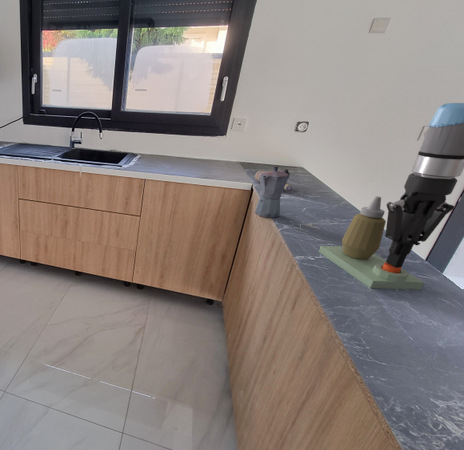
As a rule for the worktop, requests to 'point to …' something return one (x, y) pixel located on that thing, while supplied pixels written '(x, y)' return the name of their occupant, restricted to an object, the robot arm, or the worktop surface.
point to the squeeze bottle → (365, 232)
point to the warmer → (371, 270)
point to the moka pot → (271, 192)
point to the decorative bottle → (258, 176)
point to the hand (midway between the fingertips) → (393, 264)
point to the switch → (391, 268)
